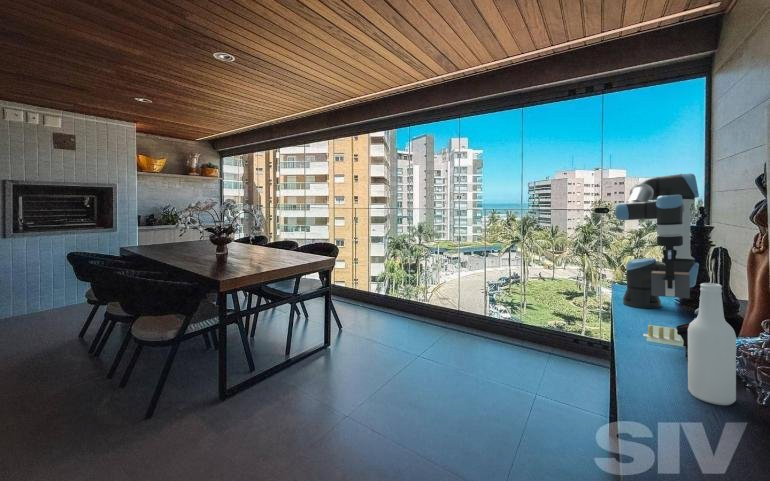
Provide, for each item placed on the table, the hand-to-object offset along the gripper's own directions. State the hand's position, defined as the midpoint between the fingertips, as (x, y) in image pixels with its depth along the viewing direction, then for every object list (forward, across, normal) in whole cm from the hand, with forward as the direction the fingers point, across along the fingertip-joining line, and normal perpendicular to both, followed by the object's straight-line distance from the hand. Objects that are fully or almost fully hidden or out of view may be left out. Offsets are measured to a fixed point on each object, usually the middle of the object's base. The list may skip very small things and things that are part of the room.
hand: (670, 294), depth 125 cm
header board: (+15, +8, 0) cm, 17 cm away
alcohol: (+15, +50, +8) cm, 52 cm away
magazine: (+15, +26, +8) cm, 32 cm away
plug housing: (0, 0, 0) cm, 0 cm away
